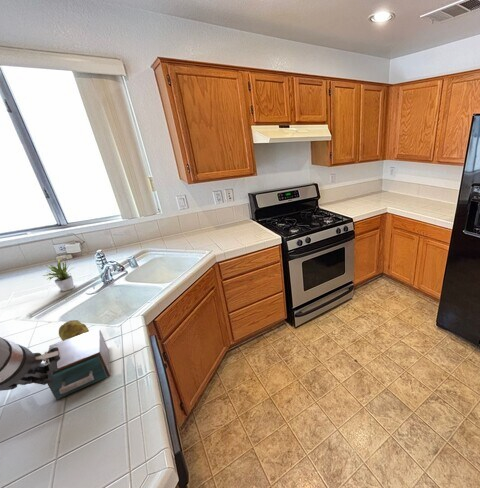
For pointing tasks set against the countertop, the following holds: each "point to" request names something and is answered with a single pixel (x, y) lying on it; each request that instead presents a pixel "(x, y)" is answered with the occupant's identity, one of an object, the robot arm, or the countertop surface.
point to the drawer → (77, 376)
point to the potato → (72, 329)
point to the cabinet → (82, 351)
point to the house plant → (61, 277)
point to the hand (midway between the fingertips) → (47, 377)
